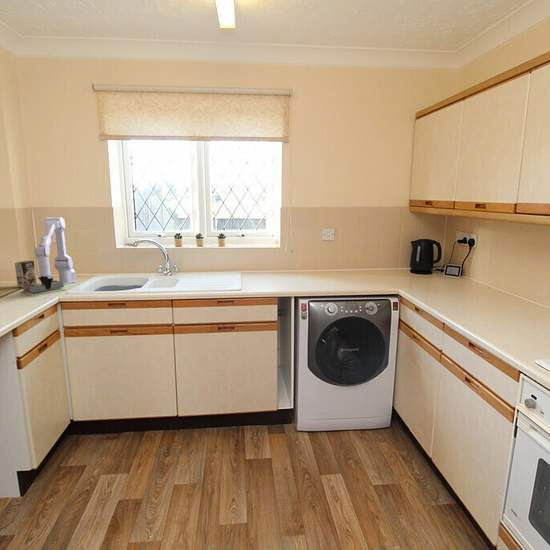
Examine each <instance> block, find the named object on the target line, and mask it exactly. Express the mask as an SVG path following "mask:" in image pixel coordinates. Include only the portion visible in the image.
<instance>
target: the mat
mask: <svg viewBox="0 0 550 550" xmlns="http://www.w3.org/2000/svg"><path fill="white" fill-rule="evenodd" d="M66 289H67V287H62V288H56V289H51V290H45V291H40V292H34V293H26V295H27V294H28V296H30V297H35V295H36V296H40V295H41V294H42V295H47V294H52V293H51V292H53V293H57V292H56V291H58V292H62V290H63V291H67V290H66ZM46 293H47V294H46ZM42 295H41V296H42Z"/></svg>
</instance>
